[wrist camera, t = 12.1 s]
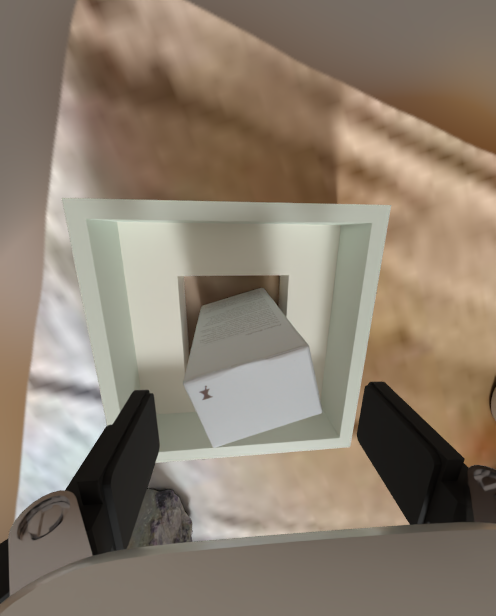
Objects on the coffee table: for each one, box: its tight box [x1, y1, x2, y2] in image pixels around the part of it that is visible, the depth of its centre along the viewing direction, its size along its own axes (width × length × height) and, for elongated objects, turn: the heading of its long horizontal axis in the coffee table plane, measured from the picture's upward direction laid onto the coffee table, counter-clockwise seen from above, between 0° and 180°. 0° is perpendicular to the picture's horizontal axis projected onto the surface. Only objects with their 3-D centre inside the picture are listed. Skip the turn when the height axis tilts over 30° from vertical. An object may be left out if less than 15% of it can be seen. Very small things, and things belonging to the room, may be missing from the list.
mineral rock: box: [127, 489, 193, 549], centre depth 25 cm, size 13×11×10 cm
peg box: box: [62, 198, 391, 463], centre depth 19 cm, size 18×18×7 cm
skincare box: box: [183, 288, 322, 448], centre depth 17 cm, size 6×4×12 cm
